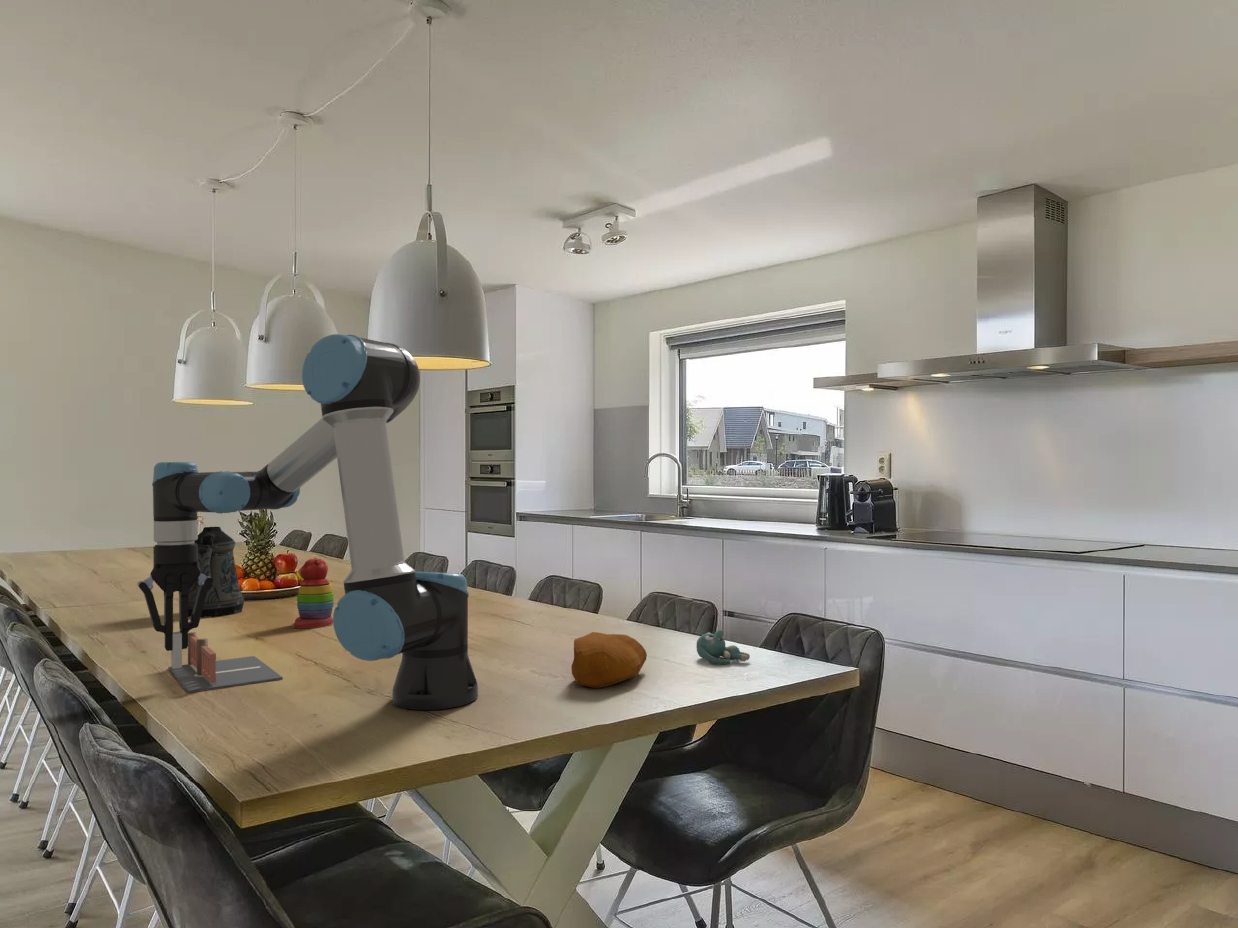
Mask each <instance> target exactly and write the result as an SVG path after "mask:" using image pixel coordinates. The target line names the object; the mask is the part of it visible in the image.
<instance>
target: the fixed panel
mask: <svg viewBox="0 0 1238 928" xmlns="http://www.w3.org/2000/svg"><path fill="white" fill-rule="evenodd" d="M206 645H207V646H208V647H209V639H208V638H199V637H198V636H197V632H196V631H194V632H193V631H192V632H191V631H190V632H188V647H187V664H188V665H193V666H194V667H195V668H196V669H197V675H198V676H203V675H202V674H201V669H202V651H201V646H206Z"/></svg>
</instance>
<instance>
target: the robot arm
mask: <svg viewBox="0 0 1238 928" xmlns="http://www.w3.org/2000/svg"><path fill="white" fill-rule="evenodd" d="M301 379H302V386H303V388H304V390H305V392H306V394H307V395H309V396H310V399H312V400H313V401H315V402H317V403H318V404H320V409H321V418H320V419H319V420H318V421H317V422H315V423H314V424H313V425H312V426H311V427H310V428H309V429H307V430H306V431H305V432H304V433H303V434H302V435H300V436H299V437H298V438H297V439H295V441H293V442H292V443H291V444H290V445H289V446H287V447H286V448H285V449H284V450H283V451H282V452H280V453H279V454H278V455H277V456H276V457H275V458H273V459H272V460H271V461H269V462H268V463H267V464H266V465H265V466H264V467H263V468H261V469H260V470H257V471H222V470H220V471H207V472H206V471H205V472H202V471H201V472H199V471H198V465H197V463H196V462H193V461H171V462H170V461H165V462H163V461H161V462H157V463H156V464H155V465H154V466H153V474H152V475H153V476H152V477H153V478H152V483H151V486H152V507H153V508H152V509H153V510H152V511H153V512H152V513H153V514H152V515H153V542H154V543H156V544H155V545H154V546H153V547H152V548H153V556H152V557H153V567H152V570H151V571H150V576H149V577H147V578H145V579H144V580H141V581H138V582H137V587H138V588H139V589H140V591H141V592H142V593H143V595H144V598H145V602H146V605H147V606H146V607H147V609H148V614H149V615H150V620H151V624H152V627H153V629H154V630H155V631H156V632H158V633H163V635H164V649H165V650H166V652H170V667H172V668H173V669H176V668H182V665H183V650H188V633H190V631H191V630H192V629H193V630H194V629H196V628H199V625H200V621H201V618H202V617H201V614H202V610H203V606H204V602H205V598H206V594H207V590H208V588H209V587H210V585H211V584H212V583H213V578H211V577H209V576H206V575H204V574H202V573H201V570H200V568H199V566H198V545H197V544H196V543H195V542H194V541H196V540H197V539H198V535H199V532H198V530H199V529H198V527H199V525H198V518H199V516H198V513H216V514H230V513H237V512H242V511H255V510H256V511H258V510H259V511H260V510H273V511H275V510H280V509H283V508H289V507H291V506H293V505H294V504H295V503H297V501H298V497H299V495H300V494H301V493H300V492H301V488H302V487H303V486H304V485H305V484H306V483H308V482H309V481H310V480H311V479H313V478H314V477H315V476H316V475H317V474H319V473H320V472H321V471H322V470H324V469H325V468H326V467H327V466H329V464H331V463H332V462H334V461H335V460H336V459H337V467H338V468H337V469H338V473H339V474H338V475H339V483H340V490H341V497H342V506H343V513H344V521H345V529H346V537H347V544H348V545H347V546H348V551H349V553H348V554H349V558H350V559H349V560H350V568H351V569H350V572H349V574H348V575H347V576H346V577H345V579H344V580H343V588H344V595H343V596H342V597H341V598H340V599H339V600H338V601H337V603H336V605H337V606H336V607H335V608H334V609H333V613H332V619H333V624H332V625H333V630H334V633H335V636H336V638H337V640H338V642H339V643H340V645H341V647H343V649H345V650H346V651H348V652H349V653H350V655H351V656H353V657H354V658H357V659H358V660H362V661H365V662H371V661H372V662H375V661H379V660H384V659H385V660H386V659H392V658H394V657H395V656H397V655H399V654H402V655H401V656H402V657H401V661H400V664H399V667H398V671H397V674H396V677H395V681H394V683H393V687H392V691H391V692H392V695H391V697H392V704H393V705H395V706H396V707H399V708H402V709H408V710H419V711H420V710H421V711H432V710H433V711H434V710H435V711H436V710H445V709H453V708H457V707H461V706H465V705H467V704H471V703H472V702H474V701H475V700H478V696H479V694H478V693H479V686H478V685H479V684H478V680H477V679H476V676H475V673H474V670H473V666H472V663H471V660H470V657H469V647H468V646H469V644H468V643H469V641H468V640H469V639H468V638H469V634H468V633H469V630H468V629H469V628H468V627H469V620H468V619H469V617H468V616H469V614H468V613H469V612H468V610H469V607H468V606H469V602H468V599H469V592H468V591H469V590H468V580H467V578H466V577H465V575H464V574H461V573H457V572H456V573H453V572H436V571H435V572H434V571H416V569H414V568H413V567H411V566H410V565H409V564H407V562H406V561H405V558H404V556H405V555H404V549H403V543H402V536H401V526H400V520H399V518H400V517H399V511H398V504H397V497H396V489H395V481H394V473H393V468H392V467H393V466H392V459H391V451H390V443H389V437H388V430H387V429H388V428H387V424H388V423H390V422H392V421H393V420H394V419H395V418H396V417H398V416H399V415H400V414H401V413H403V411H405V410H406V409H407V408H408V407H409V406H410V405H411V403H412V402H413V401H414V399H415V398H416V397H417V396H416V395H417V394H418V392H419V388H420V383H421V374H420V370H419V366H418V364H417V362H416V359H415V358H414V356H412V354H410V352H409V351H408V350H407V349H405V348H403V347H402V346H400V345H398V344H394V343H392V342H391V343H390V342H384V341H383V342H382V341H378V340H375V339H374V340H373V339H369V338H363V337H359V336H357V335H354V334H339V333H338V334H337V333H335V334H329V335H326V336H324V337H322V338H319V340H318V341H315V343H314V344H313V345H312V347H311V349H310V351H309V352H307V354H306V356H305V358H304V361H303V364H302V370H301ZM198 578H199V581H198V584H199V585H200V586H199V589H198V592H197V596H196V600H195V604H194V608H193V612H192V616H191V617H190V619H189V617H188V595H189V591H188V590H189V589H190V588H191V587H192V585H193V584H194V583H195V581H196V580H197V579H198ZM153 583H155V584H156V586H158V588H160V589H161V591H163V618H164V619H163V621H164V622H163V624H162V621H161V618H160V614H159V610H158V608H157V604H156V600H155V597H154V594H153V592H152V589H154V584H153ZM175 592H178V610H179V612H178V613H179V615H178V617H179V619H178V620H179V622H178V623H179V627H178V628H179V630H178V631H174V593H175ZM189 620H190V621H189Z"/></svg>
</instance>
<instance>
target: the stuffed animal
mask: <svg viewBox="0 0 1238 928" xmlns="http://www.w3.org/2000/svg"><path fill="white" fill-rule="evenodd" d="M695 647H696V653H697V655H698V656H699V658H702V659H704V660H705V661H706V662H707V663H708V664H710V665H717V666H724V665H729V664H731V661H736V660H739V661H741V662H746V661H749V659H750V656H751V655H750V654H749V653H748V652H744V651H741V650H740V648H739V647H738V646H737V645H734V644H733V645H729V646H726V640H725V636H724V630H723V629H718V630H717V631H715V632H714V633H711V632H710V631H708V632H706V633H704V634H701V636H699V638H698V639H697V641H696V646H695ZM720 657H721V658H723V659H721V658H720Z"/></svg>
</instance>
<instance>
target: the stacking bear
mask: <svg viewBox="0 0 1238 928" xmlns="http://www.w3.org/2000/svg"><path fill="white" fill-rule="evenodd" d="M328 570H329V568H328V564H327V562H326V561H325V560H323V559H321V558H317V557H313V558H309V559H308V560H306V561H305V562H304V564H303V565H302V566H301V567H300V568H299V569H298V571H297V572H298V575H299V576H300V577H301V578H302V579H303V580H302V581H301V582H300V586H298V587H299V588H298V594H297V596H296V606H297V609H298V610H297V611H298V615H299V616H298V617H296V618H295V620H294V623H293V629H297V630H303V629H315V628H323V627H328V626H332V625H333V616H332V615H333V611H334V609H333V608H334V603H335V600H334V599H335V596H334V592H333V586H332V584H331V583H330V581H329V580H328V579H327V578H326V577H327V575H328V572H329V571H328Z"/></svg>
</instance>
